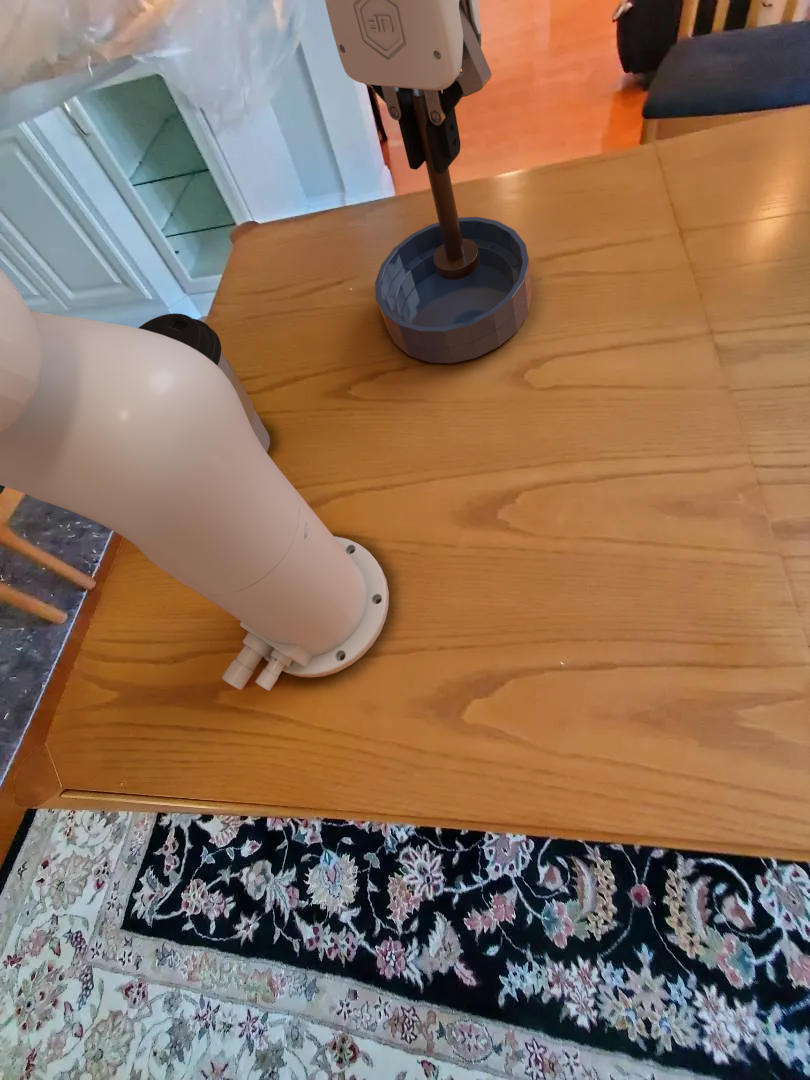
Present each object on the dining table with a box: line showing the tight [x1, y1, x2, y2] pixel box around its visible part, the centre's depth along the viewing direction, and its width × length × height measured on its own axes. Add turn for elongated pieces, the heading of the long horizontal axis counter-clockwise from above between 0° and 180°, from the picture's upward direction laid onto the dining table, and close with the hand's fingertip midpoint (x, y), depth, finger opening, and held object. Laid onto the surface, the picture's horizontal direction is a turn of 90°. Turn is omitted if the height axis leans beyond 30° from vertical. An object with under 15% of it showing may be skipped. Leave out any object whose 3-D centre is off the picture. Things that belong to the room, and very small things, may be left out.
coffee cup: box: [138, 312, 271, 453], centre depth 58 cm, size 9×9×15 cm
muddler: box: [410, 89, 480, 280], centre depth 55 cm, size 4×4×16 cm
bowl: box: [374, 216, 533, 364], centre depth 63 cm, size 15×15×5 cm
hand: (435, 159), depth 52 cm, fingers closed on muddler
